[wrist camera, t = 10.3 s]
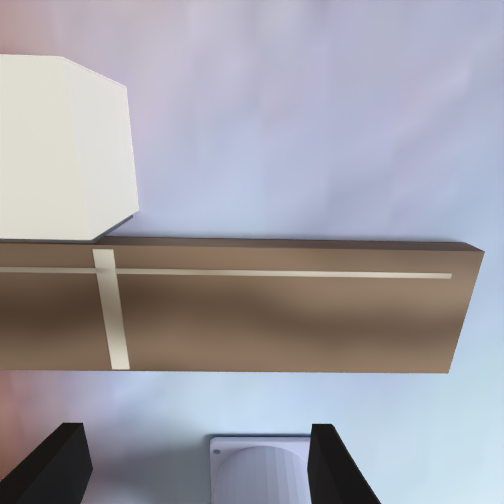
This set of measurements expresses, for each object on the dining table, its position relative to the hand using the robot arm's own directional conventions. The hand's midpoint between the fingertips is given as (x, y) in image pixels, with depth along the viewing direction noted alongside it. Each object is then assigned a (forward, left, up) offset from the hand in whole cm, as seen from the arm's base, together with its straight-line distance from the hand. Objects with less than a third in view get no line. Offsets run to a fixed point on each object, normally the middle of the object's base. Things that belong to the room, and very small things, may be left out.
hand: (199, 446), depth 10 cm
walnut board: (0, +1, -9) cm, 9 cm away
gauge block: (+9, +7, -10) cm, 15 cm away
